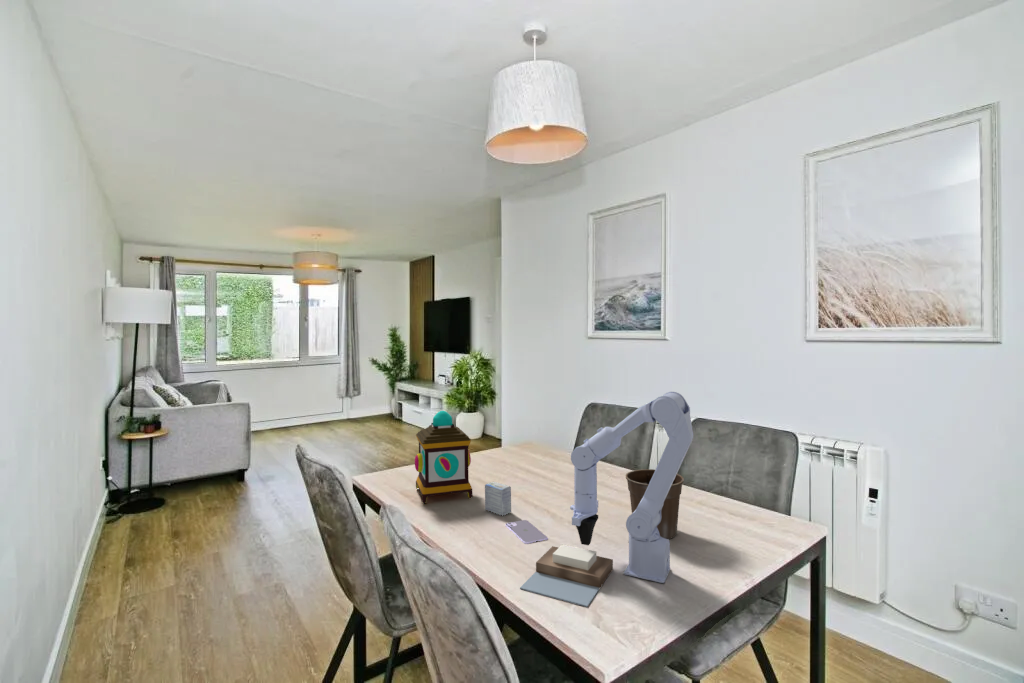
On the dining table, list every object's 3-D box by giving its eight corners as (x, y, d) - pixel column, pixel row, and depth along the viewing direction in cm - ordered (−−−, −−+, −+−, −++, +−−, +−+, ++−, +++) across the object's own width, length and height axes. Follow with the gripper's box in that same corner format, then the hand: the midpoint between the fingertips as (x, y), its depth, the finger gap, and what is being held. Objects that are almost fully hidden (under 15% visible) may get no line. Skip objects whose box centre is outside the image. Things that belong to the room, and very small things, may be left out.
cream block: (596, 559, 121) (596, 551, 121) (588, 570, 116) (588, 561, 116) (562, 552, 125) (562, 544, 125) (552, 562, 120) (552, 553, 120)
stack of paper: (511, 512, 159) (511, 486, 159) (502, 516, 156) (501, 489, 156) (494, 507, 164) (494, 481, 164) (484, 510, 161) (484, 484, 161)
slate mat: (599, 589, 112) (599, 587, 112) (587, 607, 105) (587, 605, 105) (535, 573, 120) (535, 571, 120) (520, 588, 113) (520, 587, 113)
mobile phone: (524, 542, 136) (503, 522, 150) (524, 545, 136) (503, 525, 150) (549, 537, 139) (526, 518, 153) (549, 540, 139) (526, 521, 153)
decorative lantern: (464, 483, 190) (463, 405, 189) (477, 499, 171) (476, 413, 171) (411, 488, 184) (410, 408, 183) (419, 506, 165) (417, 417, 164)
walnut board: (612, 569, 121) (612, 559, 121) (599, 588, 112) (599, 577, 112) (552, 555, 129) (552, 546, 129) (536, 572, 120) (536, 562, 120)
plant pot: (614, 526, 148) (614, 472, 148) (657, 517, 154) (657, 466, 154) (649, 548, 133) (649, 488, 133) (696, 537, 139) (696, 480, 139)
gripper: (580, 481, 136) (580, 530, 136) (560, 497, 123) (560, 551, 123) (605, 485, 132) (605, 535, 133) (587, 502, 119) (587, 557, 120)
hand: (585, 543), depth 128 cm, fingers closed
